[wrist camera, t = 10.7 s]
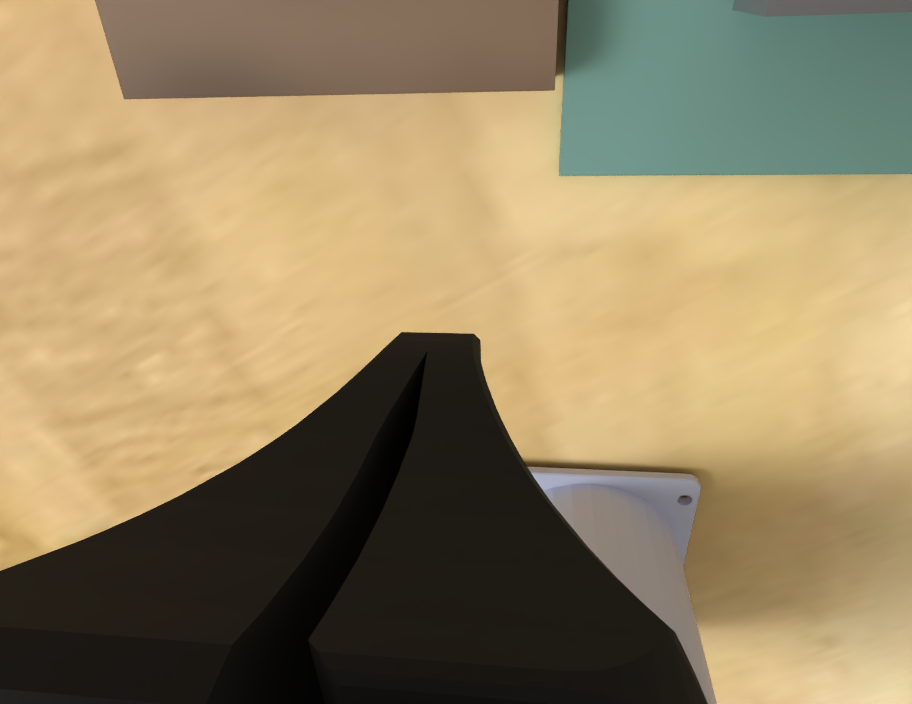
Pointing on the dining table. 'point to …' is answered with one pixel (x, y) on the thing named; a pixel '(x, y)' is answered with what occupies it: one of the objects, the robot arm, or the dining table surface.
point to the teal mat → (733, 91)
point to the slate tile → (820, 7)
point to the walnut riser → (329, 46)
